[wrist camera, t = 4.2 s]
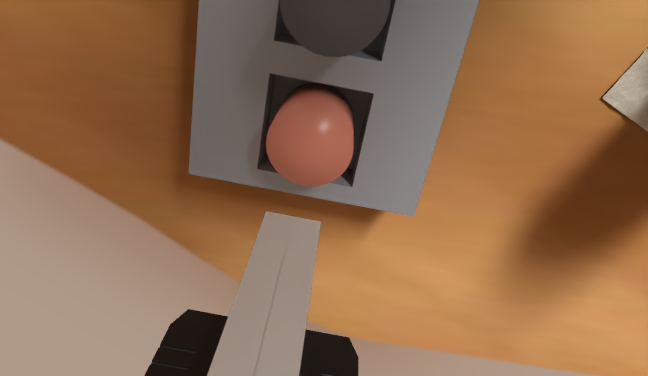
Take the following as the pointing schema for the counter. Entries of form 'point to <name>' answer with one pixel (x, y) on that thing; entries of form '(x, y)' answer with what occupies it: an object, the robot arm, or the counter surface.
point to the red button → (312, 135)
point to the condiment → (632, 92)
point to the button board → (339, 72)
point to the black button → (334, 24)
